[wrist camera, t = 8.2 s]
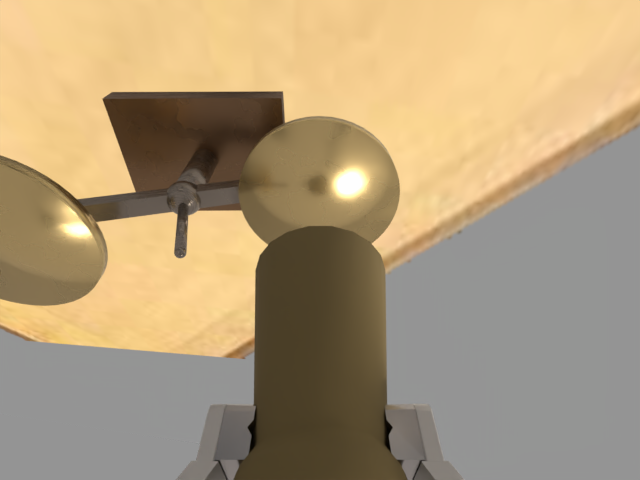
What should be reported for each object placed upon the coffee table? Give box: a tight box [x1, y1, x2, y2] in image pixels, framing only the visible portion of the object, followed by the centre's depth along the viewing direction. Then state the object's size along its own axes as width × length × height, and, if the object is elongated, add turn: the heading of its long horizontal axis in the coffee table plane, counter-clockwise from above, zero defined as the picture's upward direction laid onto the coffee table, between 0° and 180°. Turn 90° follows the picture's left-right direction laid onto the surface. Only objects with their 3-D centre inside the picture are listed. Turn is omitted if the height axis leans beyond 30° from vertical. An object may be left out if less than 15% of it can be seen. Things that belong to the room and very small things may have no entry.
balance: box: [0, 91, 400, 306], centre depth 24 cm, size 27×10×12 cm, turn 90°
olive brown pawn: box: [233, 226, 408, 480], centre depth 13 cm, size 6×6×11 cm
